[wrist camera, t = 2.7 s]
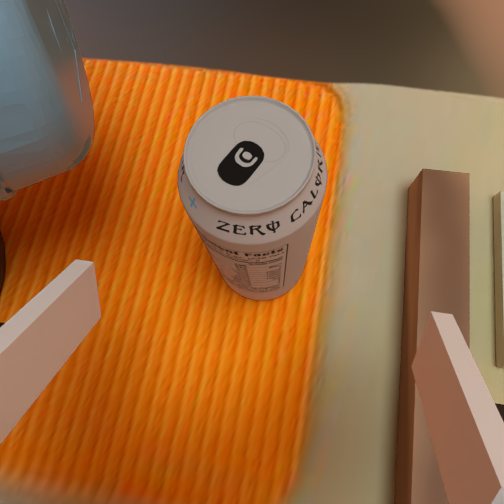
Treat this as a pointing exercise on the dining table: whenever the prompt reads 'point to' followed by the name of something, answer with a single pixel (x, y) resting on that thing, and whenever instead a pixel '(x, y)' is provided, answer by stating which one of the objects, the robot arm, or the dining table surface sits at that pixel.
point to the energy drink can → (254, 192)
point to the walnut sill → (418, 311)
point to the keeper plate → (499, 275)
